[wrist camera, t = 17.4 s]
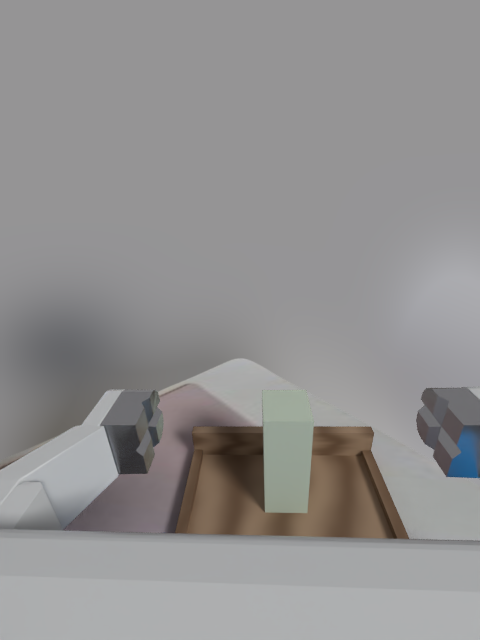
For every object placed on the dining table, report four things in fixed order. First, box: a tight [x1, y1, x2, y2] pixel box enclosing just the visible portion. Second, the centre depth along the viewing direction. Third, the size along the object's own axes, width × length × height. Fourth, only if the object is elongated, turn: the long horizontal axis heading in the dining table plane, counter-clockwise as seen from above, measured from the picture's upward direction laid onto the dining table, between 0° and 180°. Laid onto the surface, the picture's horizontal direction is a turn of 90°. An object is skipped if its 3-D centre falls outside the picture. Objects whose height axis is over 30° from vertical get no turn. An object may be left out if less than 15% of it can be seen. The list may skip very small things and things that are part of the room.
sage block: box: [262, 390, 314, 513], centre depth 35 cm, size 5×5×14 cm
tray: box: [175, 427, 409, 539], centre depth 37 cm, size 25×14×5 cm, turn 87°
